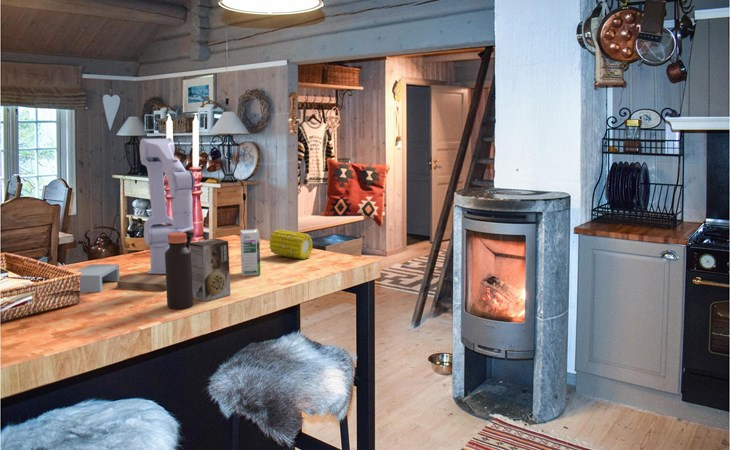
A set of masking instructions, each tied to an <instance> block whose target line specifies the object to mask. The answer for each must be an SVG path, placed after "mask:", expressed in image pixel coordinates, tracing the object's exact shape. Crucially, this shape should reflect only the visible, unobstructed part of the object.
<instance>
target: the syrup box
mask: <svg viewBox="0 0 730 450" xmlns="http://www.w3.org/2000/svg"><path fill="white" fill-rule="evenodd" d="M260 237H261V236H260V231H259V230H258V229H244V230H243V229H240V262H241V274H242V277H247V276H249V277H250V276H261V247H260V246H261V244H260V243H261V242H260Z"/></svg>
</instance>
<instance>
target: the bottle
mask: <svg viewBox="0 0 730 450" xmlns="http://www.w3.org/2000/svg"><path fill="white" fill-rule="evenodd" d="M186 243H187V234H186V233H181V232H177V233H170V234H168V244H169V249H168V250H167V251H166V252H165V269H166V274H165V277H166V290H167V291H166V306H167V307H168V308H169V309H171V310H184V309H189V308H191V307H192V306H193V305H194V298H193V289H192V264H191V251H190V250H189V249H188V248H187V247H186Z"/></svg>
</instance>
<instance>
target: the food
mask: <svg viewBox="0 0 730 450" xmlns="http://www.w3.org/2000/svg"><path fill="white" fill-rule="evenodd" d="M269 249H270V252H271V253H273V254H274V255H278V256H283V257H289V258H294V259H302V260H305V259H308V258H310V257H311V254H312V251H313V240H312V236H311V235H309V234H308V233H304V232H298V231H291V230H285V229H276V230H274V231H273V232H272V234H270V238H269Z"/></svg>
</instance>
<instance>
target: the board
mask: <svg viewBox="0 0 730 450" xmlns="http://www.w3.org/2000/svg"><path fill="white" fill-rule="evenodd" d="M116 285H117V286H116V288H117V289H127V290H130V289H131V290H141V289H143V291H156V292H157V291H158V292H159V291H160V292H161V291H162V292H167V290H166V276H165V277H164V276H148V275H132V274H131V275H130V276H127V277H124V278H123V279H120V280H119V281H116Z"/></svg>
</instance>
